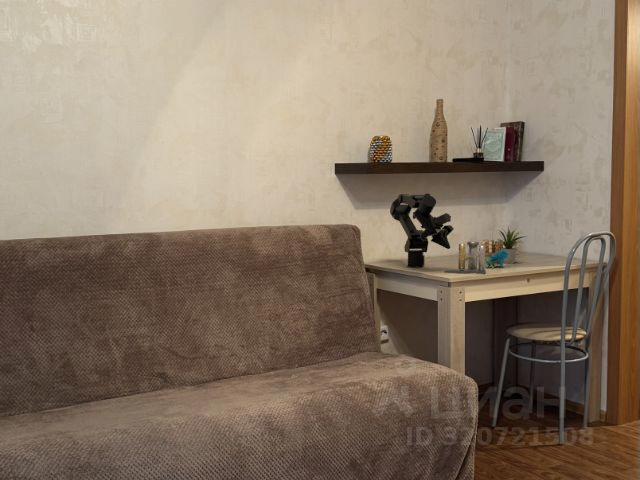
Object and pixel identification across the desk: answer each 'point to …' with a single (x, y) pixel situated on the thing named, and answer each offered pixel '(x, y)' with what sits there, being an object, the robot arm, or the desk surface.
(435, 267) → the desk surface
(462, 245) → the swing leg
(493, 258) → the blue animal figurine
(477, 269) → the bolt plate
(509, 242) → the house plant
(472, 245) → the grey stone tower
